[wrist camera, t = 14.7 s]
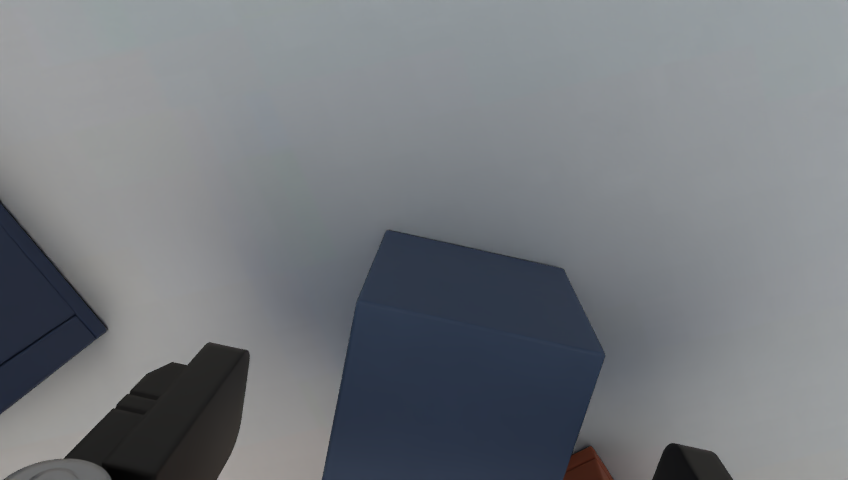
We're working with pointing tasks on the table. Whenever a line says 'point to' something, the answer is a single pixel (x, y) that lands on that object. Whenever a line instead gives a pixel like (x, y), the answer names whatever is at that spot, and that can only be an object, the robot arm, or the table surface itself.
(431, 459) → the slate block
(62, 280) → the slate bin
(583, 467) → the terracotta bin
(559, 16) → the table surface
